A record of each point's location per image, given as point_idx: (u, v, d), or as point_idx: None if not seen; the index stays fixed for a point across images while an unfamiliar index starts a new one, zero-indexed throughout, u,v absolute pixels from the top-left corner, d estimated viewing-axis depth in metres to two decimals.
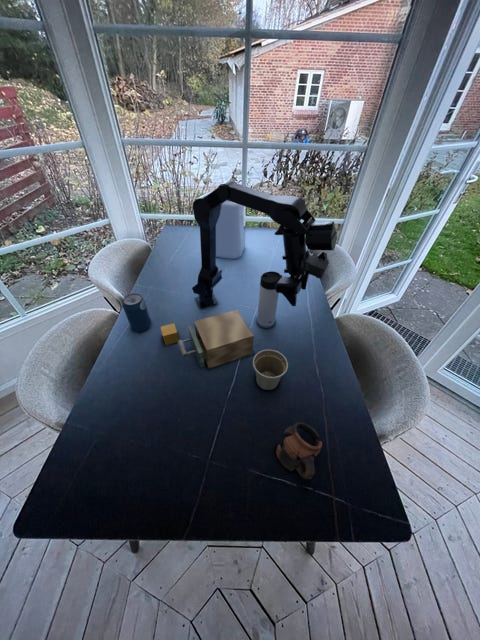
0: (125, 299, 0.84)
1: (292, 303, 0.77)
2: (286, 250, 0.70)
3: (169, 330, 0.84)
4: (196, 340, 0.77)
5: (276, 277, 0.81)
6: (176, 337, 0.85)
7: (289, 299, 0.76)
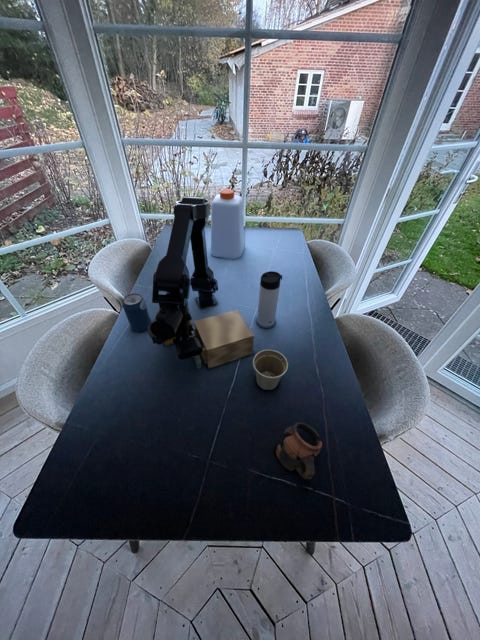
0: (125, 299, 0.84)
1: None
2: None
3: None
4: None
5: (276, 277, 0.81)
6: None
7: None
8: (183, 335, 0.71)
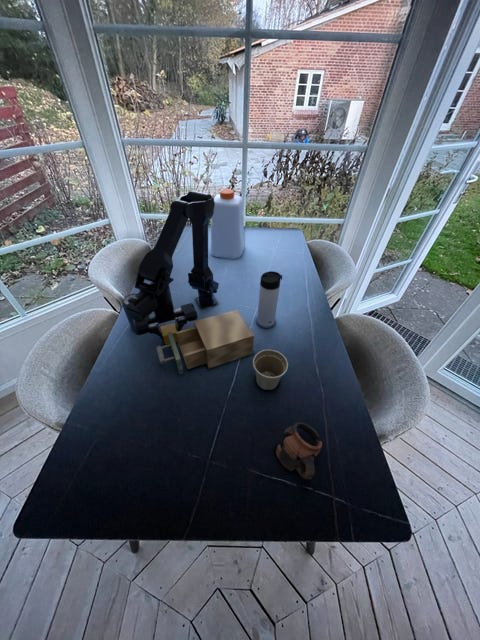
0: (125, 299, 0.84)
1: None
2: None
3: (169, 330, 0.84)
4: (174, 346, 0.75)
5: (276, 277, 0.81)
6: (176, 337, 0.85)
7: None
8: (154, 318, 0.80)
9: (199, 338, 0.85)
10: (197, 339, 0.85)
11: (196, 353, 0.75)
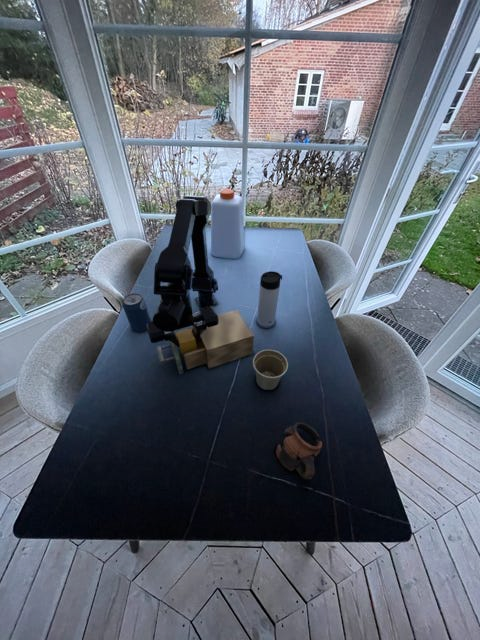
0: (125, 299, 0.84)
1: None
2: None
3: (186, 337, 0.75)
4: (174, 346, 0.75)
5: (276, 277, 0.81)
6: (194, 344, 0.76)
7: None
8: None
9: (199, 338, 0.85)
10: None
11: (196, 353, 0.75)
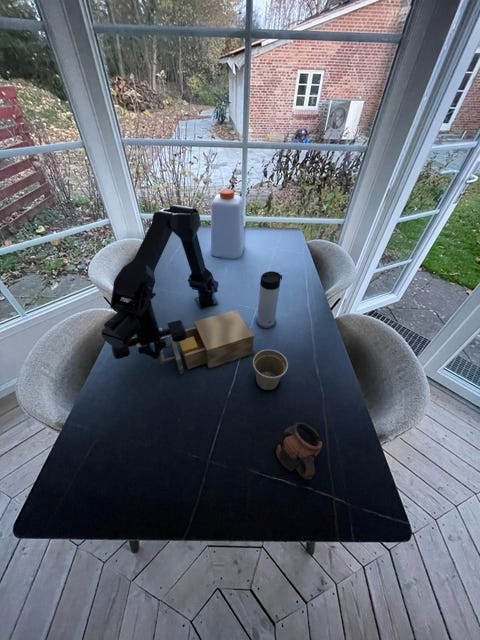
0: (125, 299, 0.84)
1: None
2: None
3: (189, 345, 0.77)
4: (175, 346, 0.75)
5: (276, 277, 0.81)
6: None
7: None
8: (136, 338, 0.69)
9: (199, 338, 0.85)
10: (197, 339, 0.85)
11: (196, 353, 0.75)
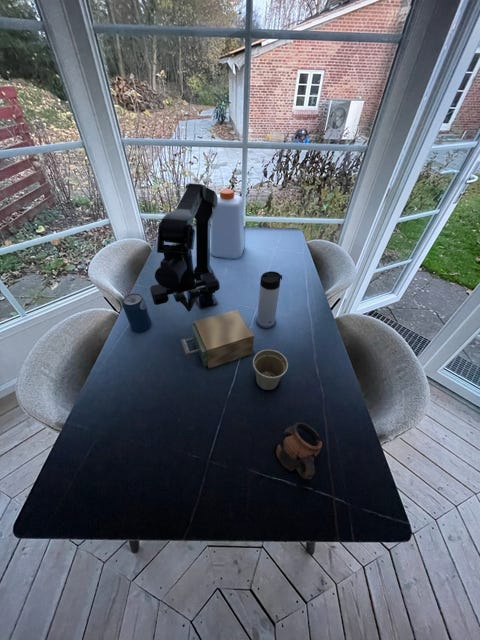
0: (125, 299, 0.84)
1: None
2: None
3: None
4: (199, 339, 0.78)
5: (276, 277, 0.81)
6: None
7: None
8: None
9: None
10: None
11: None
